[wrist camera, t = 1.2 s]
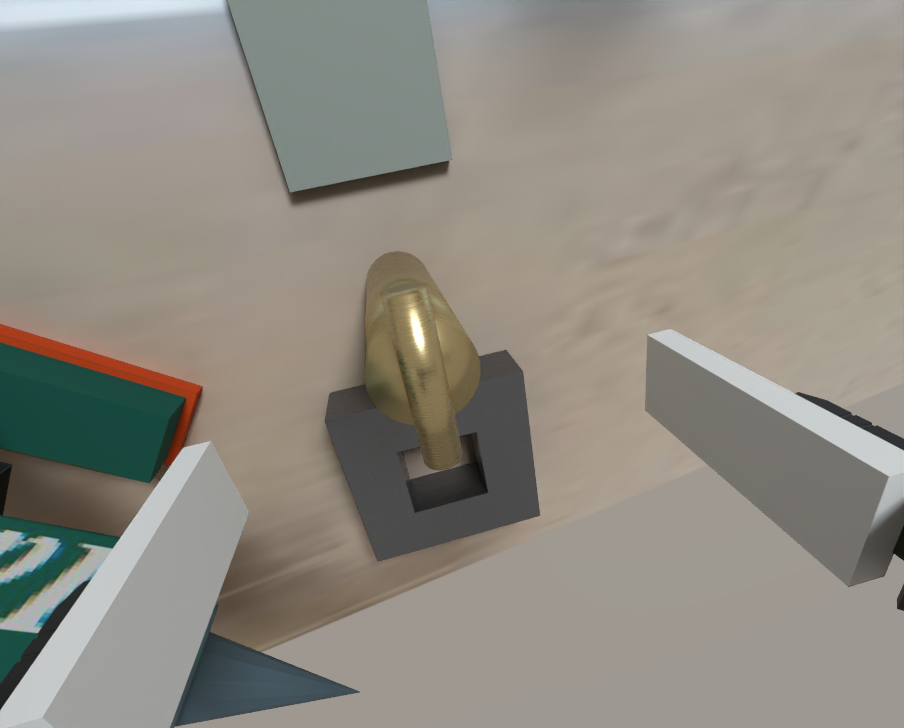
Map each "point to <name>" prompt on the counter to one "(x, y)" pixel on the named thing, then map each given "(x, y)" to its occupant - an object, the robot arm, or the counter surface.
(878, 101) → the counter surface
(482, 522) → the chuck block
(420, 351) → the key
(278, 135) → the pad
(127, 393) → the power tool
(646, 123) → the counter surface
